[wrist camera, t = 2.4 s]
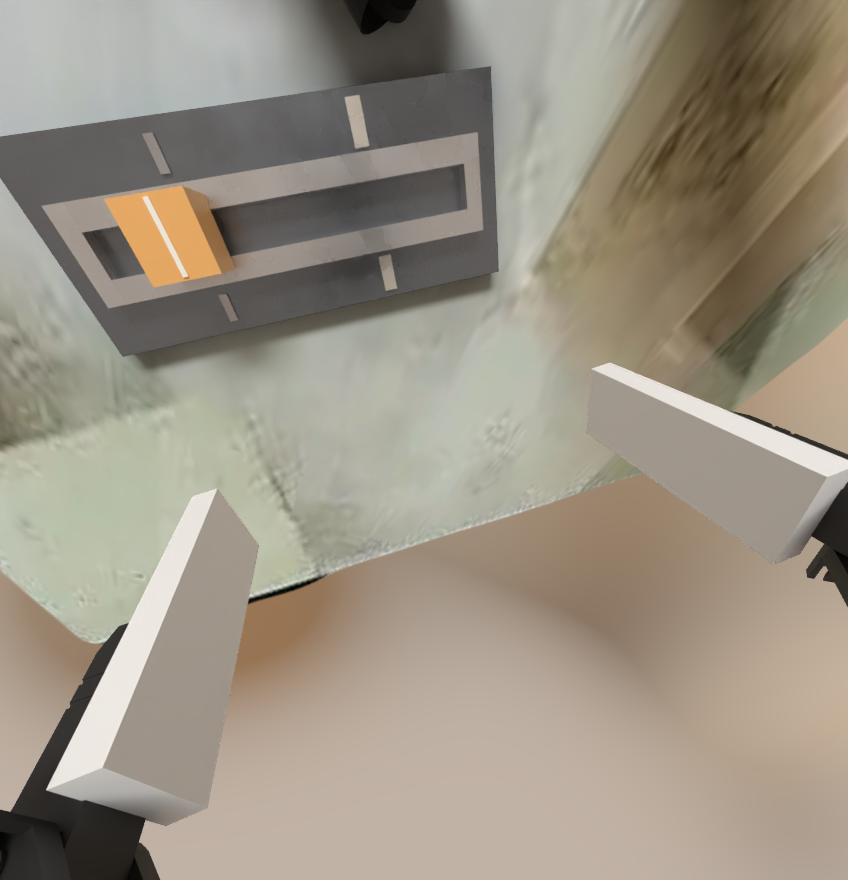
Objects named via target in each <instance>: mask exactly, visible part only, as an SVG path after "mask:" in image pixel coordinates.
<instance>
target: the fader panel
mask: <svg viewBox="0 0 848 880" xmlns="http://www.w3.org/2000/svg"><path fill="white" fill-rule="evenodd" d="M0 178H1V180H2V181H3V182H4V184H5V185H6V187H7V188H8V190H9V191H10V193H11V194H12V196H13V197H14V199H15V200H16V201H17V203H18V204H19V206H20V207H21V209H22V210H23V212H24V213H25V215H26V216H27V217H28V219H29V220H30V222H31V223H32V225H33V226H34V228H35V229H36V231H37V232H38V234H39V235H40V236H41V238H42V239H43V241H44V242H45V244H46V245H47V247H48V248H49V250H50V251H51V253H52V254H53V255H54V257H55V258H56V260H57V261H58V263H59V264H60V266H61V267H62V269H63V270H64V272H65V273H66V274H67V276H68V277H69V279H70V280H71V282H72V283H73V285H74V286H75V288H76V289H77V290H78V292H79V293H80V295H81V296H82V298H83V299H84V301H85V302H86V304H87V305H88V307H89V308H90V309H91V311H92V312H93V314H94V315H95V317H96V318H97V320H98V321H99V323H100V324H101V326H102V327H103V328H104V330H105V331H106V333H107V334H108V336H109V337H110V339H111V340H112V342H113V343H114V344H115V346H116V347H117V349H118V350H119V352H120V353H121V355H122V356H123V357H124V356H129V355H133V354H137V353H142V352H146V351H151V350H155V349H159V348H164V347H168V346H173V345H177V344H181V343H186V342H190V341H195V340H199V339H203V338H208V337H212V336H217V335H221V334H225V333H230V332H234V331H239V330H243V329H247V328H252V327H256V326H260V325H265V324H269V323H274V322H278V321H282V320H287V319H291V318H296V317H300V316H304V315H309V314H313V313H318V312H322V311H326V310H331V309H335V308H340V307H344V306H348V305H353V304H357V303H362V302H366V301H370V300H375V299H379V298H384V297H388V296H392V295H397V294H401V293H406V292H410V291H414V290H419V289H423V288H428V287H432V286H436V285H441V284H445V283H450V282H454V281H458V280H463V279H467V278H472V277H476V276H480V275H485V274H489V273H494V272H498V271H499V268H498V243H497V217H496V191H495V166H494V140H493V114H492V88H491V66H490V67H483V68H476V69H469V70H462V71H455V72H448V73H441V74H434V75H427V76H420V77H413V78H406V79H399V80H392V81H385V82H378V83H371V84H364V85H357V86H350V87H343V88H336V89H329V90H322V91H315V92H308V93H301V94H295V95H288V96H281V97H274V98H267V99H260V100H253V101H246V102H239V103H232V104H225V105H218V106H211V107H204V108H197V109H190V110H183V111H176V112H169V113H162V114H155V115H148V116H141V117H134V118H127V119H120V120H113V121H106V122H99V123H92V124H85V125H78V126H71V127H65V128H58V129H51V130H44V131H37V132H30V133H23V134H16V135H9V136H2V137H0ZM178 186H184V187H187V188H189V189H192V190H194V191H197V192H200V193H202V194H204V196H205V198H206V201H207V203H208V205H209V208H210V210H211V212H212V215H213V217H214V219H215V222H216V224H217V226H218V229H219V231H220V233H221V236H222V238H223V240H224V243H225V245H226V247H227V250H228V252H229V254H230V257H231V259H232V261H233V264H234V266H235V268H236V269H234V270H231V271H228V272H225V273H222V274H217V275H212V276H208V277H203V278H198V279H193V280H188V281H183V282H178V283H173V284H169V285H164V286H159V287H153V285H152V284H151V282H150V280H149V278H148V277H147V275H146V273H145V271H144V270H143V268H142V266H141V264H140V263H139V261H138V259H137V257H136V255H135V254H134V252H133V250H132V248H131V247H130V245H129V243H128V241H127V240H126V238H125V236H124V234H123V232H122V231H121V229H120V227H119V225H118V224H117V222H116V220H115V218H114V217H113V215H112V213H111V211H110V209H109V208H108V206H107V204H106V202H105V201H104V199H107V198H113V197H119V196H125V195H131V194H136V193H142V192H148V191H154V190H160V189H166V188H172V187H178Z"/></svg>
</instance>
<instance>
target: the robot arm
mask: <svg viewBox="0 0 848 880" xmlns="http://www.w3.org/2000/svg"><path fill="white" fill-rule="evenodd" d="M586 433H587V434H589V435H590V436H592V437H593V438H595V439H596V440H597V441H599V442H600V443H602V444H603V445H604V446H606V447H607V448H609V449H610V450H611V451H613V452H614V453H616V454H617V455H619V456H620V457H621V458H623V459H624V460H626V461H627V462H628V463H630V464H631V465H633V466H634V467H636V468H637V469H638V470H640V471H641V472H643V473H644V474H645V475H647V476H648V477H650V478H651V479H653V480H654V481H655V482H657V483H658V484H660V485H661V486H663V487H664V488H665V489H667V490H668V491H669V492H671V493H672V494H674V495H675V496H677V497H678V498H680V499H681V500H682V501H684V502H685V503H687V504H688V505H689V506H691V507H692V508H694V509H695V510H696V511H698V512H699V513H701V514H702V515H704V516H705V517H707V518H708V519H709V520H711V521H712V522H713V523H715V524H716V525H718V526H719V527H720V528H722V529H723V530H725V531H726V532H727V533H729V534H730V535H732V536H733V537H735V538H736V539H737V540H739V541H740V542H742V543H743V544H745V545H746V546H747V547H749V548H750V549H752V550H753V551H754V552H756V553H757V554H759V555H760V556H761V557H763V558H764V559H766V560H767V561H769V562H770V563H771V564H773V565H775V564H777V563H780V562H782V561H784V560H787V559H789V558H791V557H794V556H796V555H798V554H800V553H801V551H802V550H803V548H804V547H805V545H806V544H807V542H808V541H809V539H810V538H811V536H812V537H814V538H816V539H817V540H819V541H821V542H822V543H824V545H823V547H822V548H821V549H820V551H819V552H818V554H817V555H816V557H815V558H814V559H813V561H812V562H811V564H810V565H809V566H808V568H807V569H806V572H807V577H808V578H813V579H814V578H815V577H816V575H817V574H818V573H819V571H820V570H821V569H822V567H823V566H826V567H827V569H828V572H827V573H826V574H825V576H824V578H823V580H824V581H828V582H834V583H835V584H836V586H837V588H838V589H839V592H840V593H841V595H842V597H843V599H844V601H845V603H846V605H847V606H848V454H845V453H843V452H840V451H838V450H835V449H833V448H830V447H828V446H825V445H823V444H820V443H818V442H815V441H813V440H810V439H808V438H805V437H803V436H800V435H798V434H791V432H790V431H788V430H785V429H783V428H780V427H778V426H776V427H773V426H772V424H770V423H768V422H765V421H763V420H760V419H758V418H755V417H752V416H750V415H746V414H741V413H737V412H732V411H728V410H724V409H722V408H720V407H717V406H715V405H712V404H710V403H707V402H705V401H702V400H700V399H698V398H695V397H693V396H690V395H688V394H685V393H683V392H681V391H678V390H676V389H673V388H671V387H668V386H666V385H663V384H661V383H659V382H656V381H654V380H651V379H649V378H646V377H644V376H641V375H639V374H637V373H634V372H632V371H629V370H627V369H624V368H622V367H619V366H617V365H615V364H612V363H608V364H605V365H601V366H598V367H595V368H592V369H591V379H590V392H589V404H588V417H587V429H586ZM258 548H259V545H258V543H257V542H256V541H255V539H254V538H253V536H252V535H251V534H250V532H249V531H248V530H247V528H246V527H245V525H244V524H243V523H242V521H241V520H240V519H239V517H238V516H237V514H236V513H235V512H234V510H233V509H232V508H231V506H230V505H229V503H228V502H227V501H226V499H225V498H224V497H223V495H222V494H221V492H220V491H219V490H218V488H217V489H214V490H211V491H208V492H205V493H201V494H198V495H195V496H192V498H191V500H190V502H189V504H188V506H187V508H186V510H185V512H184V514H183V516H182V518H181V520H180V522H179V524H178V526H177V528H176V530H175V532H174V534H173V536H172V538H171V540H170V542H169V544H168V546H167V548H166V550H165V552H164V554H163V556H162V558H161V560H160V562H159V564H158V566H157V568H156V570H155V572H154V574H153V576H152V578H151V580H150V582H149V584H148V586H147V588H146V590H145V592H144V594H143V596H142V598H141V600H140V602H139V604H138V606H137V608H136V610H135V612H134V614H133V616H132V618H131V620H130V622H129V623H127V624H124V625H121V626H119V627H118V628H117V629H116V630H115V632H114V633H113V634H112V635H111V636H110V638H109V639H108V640H107V641H106V642H105V644H104V645H103V646H102V647H101V648H100V650H99V651H98V652H97V654H96V655H95V657H94V659H93V661H92V663H91V665H90V666H89V668H88V670H87V672H86V674H85V676H84V678H83V679H82V680H83V684H82V685H79V687H78V689H77V691H76V693H75V694H74V696H73V698H72V700H71V702H70V708H69V709H66V711H65V713H64V715H63V717H62V718H61V720H60V722H59V724H58V726H57V728H56V729H55V731H54V733H53V735H52V737H51V739H50V741H49V742H48V744H47V746H46V748H45V750H44V752H43V753H42V755H41V757H40V759H39V761H38V763H37V764H36V766H35V768H34V770H33V772H32V774H31V776H30V777H29V779H28V781H27V783H26V785H25V787H24V789H23V790H22V792H21V794H20V796H19V798H18V800H17V801H16V803H15V805H14V807H13V809H12V810H11V812H8V811H3V810H0V880H160V878H159V876H158V873H157V871H156V868H155V866H154V863H153V861H152V858H151V856H150V854H149V851H148V850H147V849H146V848H145V847H144V846H143V845H142V844H141V843H139V839H140V836H141V833H142V829H143V826H144V823H145V820H147V821H151V822H154V823H158V824H161V825H164V826H167V825H169V824H172V823H174V822H176V821H178V820H181V819H183V818H185V817H188V816H190V815H192V814H195V813H197V812H199V811H202V810H204V809H207V807H208V803H209V797H210V792H211V787H212V782H213V777H214V772H215V767H216V762H217V757H218V751H219V747H220V742H221V737H222V731H223V726H224V721H225V716H226V710H227V705H228V701H229V695H230V690H231V686H232V680H233V675H234V670H235V665H236V660H237V655H238V650H239V645H240V640H241V634H242V630H243V624H244V619H245V614H246V609H247V604H248V599H249V594H250V589H251V584H252V579H253V574H254V568H255V563H256V558H257V553H258Z"/></svg>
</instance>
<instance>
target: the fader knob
mask: <svg viewBox="0 0 848 880" xmlns="http://www.w3.org/2000/svg"><path fill="white" fill-rule="evenodd" d="M104 201H105V202H106V204H107V206H108V208H109V209H110V211H111V213H112V215H113V217H114V218H115V220H116V222H117V224H118V225H119V227H120V229H121V231H122V232H123V234H124V236H125V238H126V240H127V241H128V243H129V245H130V247H131V248H132V250H133V252H134V254H135V255H136V257H137V259H138V261H139V263H140V264H141V266H142V268H143V270H144V271H145V273H146V275H147V277H148V278H149V280H150V282H151V284H152V285H153V287H159V286H164V285H169V284H173V283H178V282H183V281H188V280H193V279H198V278H203V277H208V276H212V275H217V274H222V273H225V272H228V271H231V270H234V269H236V268H235V266H234V264H233V261H232V259H231V257H230V254H229V252H228V250H227V247H226V245H225V243H224V240H223V238H222V236H221V233H220V231H219V229H218V226H217V224H216V222H215V219H214V217H213V215H212V212H211V210H210V208H209V205H208V203H207V201H206V198H205V196H204V194H202V193H200V192H197V191H194V190H192V189H189V188H187V187H184V186H178V187H172V188H166V189H160V190H154V191H148V192H142V193H136V194H131V195H125V196H119V197H113V198H107V199H104Z"/></svg>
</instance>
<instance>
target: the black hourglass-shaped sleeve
mask: <svg viewBox="0 0 848 880" xmlns="http://www.w3.org/2000/svg"><path fill="white" fill-rule="evenodd" d="M416 1H417V0H344V2H345V3H346V5H347V7H348V9H349V11H350V13H351V15H352V16H353V18H354V20H355V22H356V24H357V25H358V27H359V29H360V31H361V32H362V33H363V34H364V35H365V34H370V33H372V32H374V31H376V30H377V29H379V28H380V27H382V26H383V25H384V24H385V23H386V22H388V21H389V22H392V23H401V22H403V21H404V20H405V19H406V18H407V16H408V15H409V13H410V11H411V10H412V8H413V7H414V5H415V3H416Z"/></svg>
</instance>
